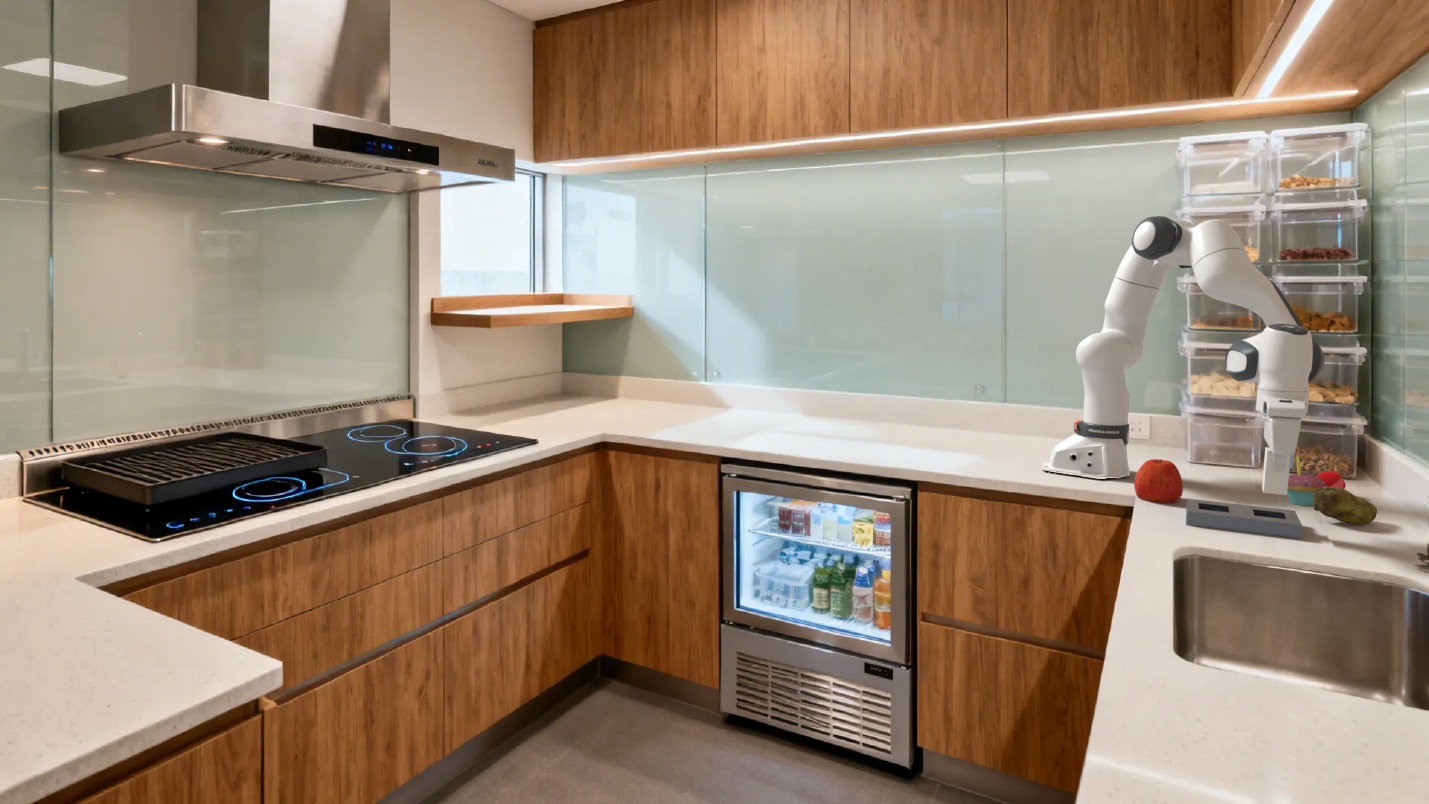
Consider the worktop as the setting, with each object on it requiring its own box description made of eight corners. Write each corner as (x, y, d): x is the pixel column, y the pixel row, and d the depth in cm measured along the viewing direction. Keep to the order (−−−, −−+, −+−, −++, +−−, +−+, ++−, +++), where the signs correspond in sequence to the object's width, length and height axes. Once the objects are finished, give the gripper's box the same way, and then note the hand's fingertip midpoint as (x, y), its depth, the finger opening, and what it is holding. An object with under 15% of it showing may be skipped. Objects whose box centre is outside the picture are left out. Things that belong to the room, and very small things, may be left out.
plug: (1263, 492, 168) (1267, 450, 167) (1261, 488, 172) (1265, 447, 171) (1291, 495, 166) (1294, 452, 165) (1288, 491, 170) (1292, 449, 168)
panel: (1185, 527, 173) (1187, 511, 172) (1185, 513, 183) (1186, 498, 183) (1300, 542, 163) (1301, 525, 162) (1293, 526, 173) (1294, 510, 173)
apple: (1140, 505, 190) (1144, 462, 188) (1126, 494, 200) (1130, 453, 198) (1188, 508, 188) (1191, 464, 186) (1171, 496, 198) (1175, 454, 196)
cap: (1330, 478, 203) (1310, 466, 203) (1352, 475, 197) (1331, 463, 197) (1320, 505, 201) (1300, 493, 201) (1342, 504, 195) (1321, 491, 195)
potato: (1389, 530, 170) (1393, 494, 169) (1318, 526, 174) (1322, 490, 173) (1369, 519, 178) (1373, 484, 177) (1302, 515, 182) (1305, 480, 181)
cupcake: (1291, 507, 188) (1296, 457, 187) (1272, 497, 197) (1277, 449, 195) (1332, 508, 187) (1337, 458, 185) (1311, 499, 195) (1316, 450, 194)
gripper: (1259, 396, 177) (1253, 458, 179) (1268, 408, 159) (1262, 477, 161) (1294, 398, 174) (1288, 460, 176) (1307, 410, 156) (1301, 480, 158)
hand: (1276, 468), depth 168 cm, fingers closed on plug, 4 cm apart
